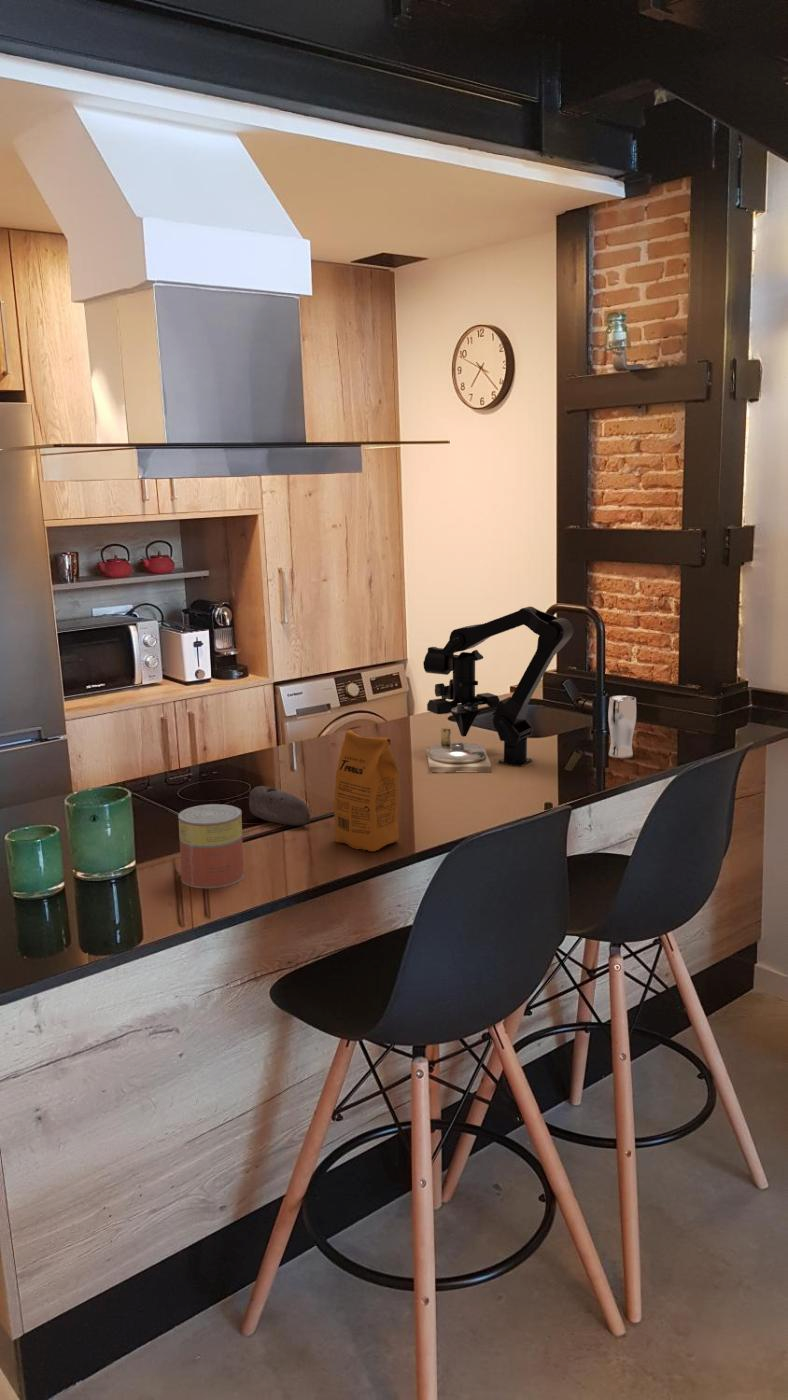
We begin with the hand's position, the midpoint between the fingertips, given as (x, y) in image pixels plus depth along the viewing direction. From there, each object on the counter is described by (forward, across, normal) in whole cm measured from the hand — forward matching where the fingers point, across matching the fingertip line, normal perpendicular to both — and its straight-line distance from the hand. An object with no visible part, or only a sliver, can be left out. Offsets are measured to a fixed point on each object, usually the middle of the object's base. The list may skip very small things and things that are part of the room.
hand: (463, 736), depth 277 cm
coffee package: (+5, +52, +47) cm, 71 cm away
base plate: (+5, +5, +6) cm, 9 cm away
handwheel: (+3, +5, +6) cm, 8 cm away
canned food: (+5, +85, +50) cm, 99 cm away
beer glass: (+5, -35, +20) cm, 41 cm away
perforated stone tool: (+5, +62, +27) cm, 68 cm away
